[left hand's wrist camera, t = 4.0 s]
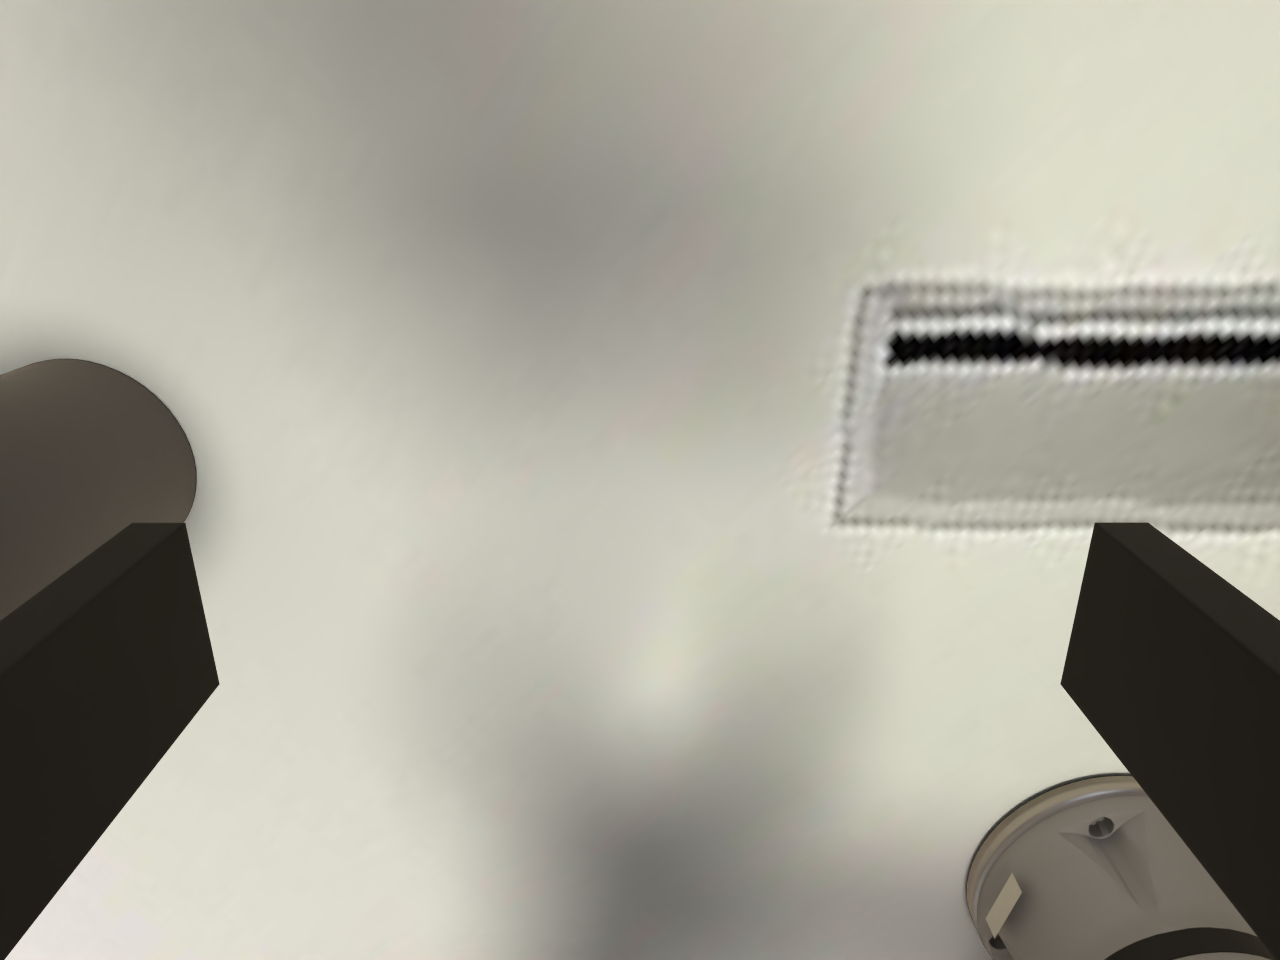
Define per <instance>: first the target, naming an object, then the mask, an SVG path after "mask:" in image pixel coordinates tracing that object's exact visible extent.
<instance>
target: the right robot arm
mask: <svg viewBox="0 0 1280 960" xmlns="http://www.w3.org/2000/svg"><path fill="white" fill-rule="evenodd" d="M967 902H968V907H969V911H970V914H971V917H972V919H973V922H974V924H975V926H976V929H977V931H978V933H979V936H980V938H981V940H982V942H983V944H984V946H985V948H986V949H987V951H988V952H989V954H990V955H991V956H992V958H993V959H994V960H1276V959H1275V958H1274V957H1273V956H1272V954H1271V953H1270V952H1269V950H1268V949H1267V948H1266V947H1265V945H1264V944H1263V943H1262V942H1261V940H1260V939H1259V938H1258V936H1257V935H1256V934H1255V933H1254V931H1253V930H1252V929H1251V927H1250V926H1249V925H1248V924H1247V922H1246V921H1245V920H1244V918H1243V917H1242V916H1241V915H1240V913H1239V912H1238V911H1237V909H1236V908H1235V907H1234V906H1233V904H1232V903H1231V902H1230V901H1229V899H1228V898H1227V897H1226V895H1225V894H1224V893H1223V892H1222V890H1221V889H1220V888H1219V886H1218V885H1217V884H1216V883H1215V881H1214V880H1213V879H1212V877H1211V876H1210V875H1209V874H1208V872H1207V871H1206V870H1205V868H1204V867H1203V866H1202V865H1201V863H1200V862H1199V861H1198V859H1197V858H1196V857H1195V856H1194V854H1193V853H1192V852H1191V851H1190V849H1189V848H1188V847H1187V845H1186V844H1185V843H1184V842H1183V840H1182V839H1181V838H1180V836H1179V835H1178V834H1177V833H1176V831H1175V830H1174V829H1173V827H1172V826H1171V825H1170V824H1169V822H1168V821H1167V820H1166V818H1165V817H1164V816H1163V815H1162V813H1161V812H1160V811H1159V810H1158V808H1157V807H1156V806H1155V804H1154V803H1153V802H1152V801H1151V799H1150V798H1149V797H1148V795H1147V794H1146V793H1145V792H1144V790H1143V789H1142V788H1141V786H1140V785H1139V784H1138V783H1137V781H1136V780H1135V779H1134V777H1133V776H1107V777H1099V778H1092V779H1087V780H1082V781H1077V782H1074V783H1071V784H1067V785H1064V786H1061V787H1059V788H1056V789H1053V790H1051V791H1049V792H1046V793H1044V794H1042V795H1040V796H1038V797H1036V798H1034V799H1033V800H1031V801H1029V802H1027V803H1026V804H1024V805H1023V806H1021V807H1020V808H1018V809H1017V810H1015V811H1014V812H1013V813H1012V814H1010V815H1009V816H1008V817H1006V818H1005V819H1004V820H1003V821H1002V822H1001V823H1000V824H999V825H998V826H997V827H996V828H995V829H994V830H993V831H992V832H991V834H990V835H989V836H988V837H987V839H986V840H985V841H984V843H983V844H982V846H981V847H980V849H979V851H978V852H977V854H976V856H975V859H974V861H973V863H972V866H971V869H970V872H969V877H968V882H967Z"/></svg>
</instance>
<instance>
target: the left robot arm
mask: <svg viewBox="0 0 1280 960" xmlns="http://www.w3.org/2000/svg"><path fill="white" fill-rule="evenodd" d="M218 685H219V680H218V675H217V671H216V666H215V661H214V656H213V652H212V647H211V642H210V638H209V633H208V628H207V624H206V619H205V614H204V609H203V605H202V600H201V595H200V591H199V586H198V581H197V576H196V572H195V567H194V562H193V558H192V553H191V548H190V543H189V539H188V534H187V529H186V525H185V523H131V524H130V525H128V526H127V527H126V528H124V529H123V530H122V531H120V532H119V533H118V534H116V535H115V536H114V537H112V538H111V539H109V540H108V541H107V542H105V543H104V544H103V545H101V546H100V547H99V548H97V549H96V550H95V551H93V552H92V553H91V554H89V555H88V556H87V557H85V558H84V559H83V560H81V561H80V562H79V563H77V564H76V565H75V566H73V567H72V568H70V569H69V570H68V571H66V572H65V573H64V574H62V575H61V576H60V577H58V578H57V579H56V580H54V581H53V582H52V583H50V584H49V585H48V586H46V587H45V588H44V589H42V590H41V591H40V592H38V593H37V594H36V595H34V596H33V597H31V598H30V599H29V600H27V601H26V602H25V603H23V604H22V605H21V606H19V607H18V608H17V609H15V610H14V611H13V612H11V613H10V614H9V615H7V616H6V617H5V618H3V619H2V620H1V621H0V960H4V959H5V958H6V957H7V956H8V954H9V953H10V952H11V950H12V949H13V948H14V947H15V945H16V944H17V943H18V942H19V940H20V939H21V938H22V936H23V935H24V934H25V933H26V931H27V930H28V929H29V927H30V926H31V925H32V924H33V922H34V921H35V920H36V918H37V917H38V916H39V915H40V913H41V912H42V911H43V909H44V908H45V907H46V906H47V904H48V903H49V902H50V901H51V899H52V898H53V897H54V895H55V894H56V893H57V892H58V890H59V889H60V888H61V886H62V885H63V884H64V883H65V881H66V880H67V879H68V877H69V876H70V875H71V874H72V872H73V871H74V870H75V868H76V867H77V866H78V865H79V863H80V862H81V861H82V859H83V858H84V857H85V856H86V854H87V853H88V852H89V851H90V849H91V848H92V847H93V845H94V844H95V843H96V842H97V840H98V839H99V838H100V836H101V835H102V834H103V833H104V831H105V830H106V829H107V827H108V826H109V825H110V824H111V822H112V821H113V820H114V818H115V817H116V816H117V815H118V813H119V812H120V811H121V810H122V808H123V807H124V806H125V804H126V803H127V802H128V801H129V799H130V798H131V797H132V795H133V794H134V793H135V792H136V790H137V789H138V788H139V786H140V785H141V784H142V783H143V781H144V780H145V779H146V777H147V776H148V775H149V774H150V772H151V771H152V770H153V768H154V767H155V766H156V765H157V763H158V762H159V761H160V760H161V758H162V757H163V756H164V754H165V753H166V752H167V751H168V749H169V748H170V747H171V745H172V744H173V743H174V742H175V740H176V739H177V738H178V736H179V735H180V734H181V733H182V731H183V730H184V729H185V727H186V726H187V725H188V724H189V722H190V721H191V720H192V719H193V717H194V716H195V715H196V713H197V712H198V711H199V710H200V708H201V707H202V706H203V704H204V703H205V702H206V701H207V699H208V698H209V697H210V695H211V694H212V693H213V692H214V690H215V689H216V688H217V686H218ZM1061 685H1062V686H1063V688H1064V689H1065V690H1066V692H1067V693H1068V694H1069V695H1070V697H1071V698H1072V699H1073V701H1074V702H1075V703H1076V704H1077V706H1078V707H1079V708H1080V710H1081V711H1082V712H1083V713H1084V715H1085V716H1086V717H1087V719H1088V720H1089V721H1090V722H1091V724H1092V725H1093V726H1094V727H1095V729H1096V730H1097V731H1098V733H1099V734H1100V735H1101V736H1102V738H1103V739H1104V740H1105V742H1106V743H1107V744H1108V745H1109V747H1110V748H1111V749H1112V751H1113V752H1114V753H1115V754H1116V756H1117V757H1118V758H1119V760H1120V761H1121V762H1122V763H1123V765H1124V766H1125V767H1126V768H1127V770H1128V771H1129V772H1130V774H1131V775H1132V776H1133V777H1134V779H1135V780H1136V781H1137V783H1138V784H1139V785H1140V786H1141V788H1142V789H1143V790H1144V792H1145V793H1146V794H1147V795H1148V797H1149V798H1150V799H1151V801H1152V802H1153V803H1154V804H1155V806H1156V807H1157V808H1158V810H1159V811H1160V812H1161V813H1162V815H1163V816H1164V817H1165V818H1166V820H1167V821H1168V822H1169V824H1170V825H1171V826H1172V827H1173V829H1174V830H1175V831H1176V833H1177V834H1178V835H1179V836H1180V838H1181V839H1182V840H1183V842H1184V843H1185V844H1186V845H1187V847H1188V848H1189V849H1190V851H1191V852H1192V853H1193V854H1194V856H1195V857H1196V858H1197V859H1198V861H1199V862H1200V863H1201V865H1202V866H1203V867H1204V868H1205V870H1206V871H1207V872H1208V874H1209V875H1210V876H1211V877H1212V879H1213V880H1214V881H1215V883H1216V884H1217V885H1218V886H1219V888H1220V889H1221V890H1222V892H1223V893H1224V894H1225V895H1226V897H1227V898H1228V899H1229V901H1230V902H1231V903H1232V904H1233V906H1234V907H1235V908H1236V909H1237V911H1238V912H1239V913H1240V915H1241V916H1242V917H1243V918H1244V920H1245V921H1246V922H1247V924H1248V925H1249V926H1250V927H1251V929H1252V930H1253V931H1254V933H1255V934H1256V935H1257V936H1258V938H1259V939H1260V940H1261V942H1262V943H1263V944H1264V945H1265V947H1266V948H1267V949H1268V950H1269V952H1270V953H1271V954H1272V956H1273V957H1274V958H1275V959H1276V960H1280V621H1279V620H1278V619H1277V618H1275V617H1274V616H1273V615H1271V614H1270V613H1269V612H1267V611H1266V610H1265V609H1263V608H1262V607H1261V606H1259V605H1258V604H1257V603H1255V602H1254V601H1253V600H1251V599H1250V598H1249V597H1247V596H1246V595H1244V594H1243V593H1242V592H1240V591H1239V590H1238V589H1236V588H1235V587H1234V586H1232V585H1231V584H1230V583H1228V582H1227V581H1226V580H1224V579H1223V578H1222V577H1220V576H1219V575H1218V574H1216V573H1215V572H1214V571H1212V570H1211V569H1210V568H1208V567H1207V566H1205V565H1204V564H1203V563H1201V562H1200V561H1199V560H1197V559H1196V558H1195V557H1193V556H1192V555H1191V554H1189V553H1188V552H1187V551H1185V550H1184V549H1183V548H1181V547H1180V546H1179V545H1177V544H1176V543H1175V542H1173V541H1172V540H1171V539H1169V538H1168V537H1166V536H1165V535H1164V534H1162V533H1161V532H1160V531H1158V530H1157V529H1156V528H1154V527H1153V526H1152V525H1150V524H1149V523H1095V525H1094V529H1093V534H1092V539H1091V543H1090V548H1089V553H1088V558H1087V562H1086V567H1085V572H1084V576H1083V581H1082V586H1081V591H1080V595H1079V600H1078V605H1077V609H1076V614H1075V619H1074V624H1073V628H1072V633H1071V638H1070V642H1069V647H1068V652H1067V656H1066V661H1065V666H1064V671H1063V675H1062V680H1061Z"/></svg>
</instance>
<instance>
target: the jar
mask: <svg viewBox="0 0 1280 960" xmlns="http://www.w3.org/2000/svg"><path fill="white" fill-rule="evenodd" d="M195 488H196V469H195V464H194V458H193V455H192V452H191V448H190V445H189V443H188V441H187V438H186V436H185V434H184V432H183V430H182V429H181V427H180V425H179V424H178V422H177V421H176V419H175V418H174V416H173V415H172V414H171V413H170V411H169V410H168V409H167V407H166V406H165V405H164V404H163V403H162V402H161V401H160V400H159V399H158V398H157V397H156V396H155V395H153V394H152V393H151V392H150V391H149V390H147V389H146V388H145V387H144V386H142V385H141V384H139V383H138V382H136V381H135V380H133V379H132V378H130V377H128V376H126V375H124V374H122V373H120V372H118V371H116V370H113V369H111V368H108V367H106V366H103V365H99V364H95V363H92V362H88V361H81V360H74V359H55V360H46V361H41V362H37V363H34V364H30V365H27V366H25V367H22V368H19V369H16V370H14V371H11V372H8V373H5V374H2V375H0V621H1V620H2V619H3V618H5V617H6V616H7V615H9V614H10V613H11V612H13V611H14V610H15V609H17V608H18V607H19V606H21V605H22V604H23V603H25V602H26V601H27V600H29V599H30V598H31V597H33V596H34V595H36V594H37V593H38V592H40V591H41V590H42V589H44V588H45V587H46V586H48V585H49V584H50V583H52V582H53V581H54V580H56V579H57V578H58V577H60V576H61V575H62V574H64V573H65V572H66V571H68V570H69V569H70V568H72V567H73V566H75V565H76V564H77V563H79V562H80V561H81V560H83V559H84V558H85V557H87V556H88V555H89V554H91V553H92V552H93V551H95V550H96V549H97V548H99V547H100V546H101V545H103V544H104V543H105V542H107V541H108V540H109V539H111V538H112V537H114V536H115V535H116V534H118V533H119V532H120V531H122V530H123V529H124V528H126V527H127V526H128V525H130V524H131V523H183V522H184V521H185V519H186V518H187V516H188V513H189V511H190V509H191V507H192V503H193V500H194V496H195Z"/></svg>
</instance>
